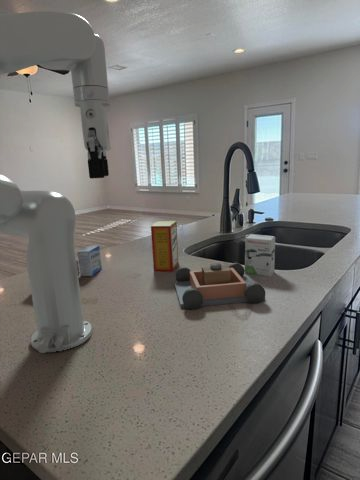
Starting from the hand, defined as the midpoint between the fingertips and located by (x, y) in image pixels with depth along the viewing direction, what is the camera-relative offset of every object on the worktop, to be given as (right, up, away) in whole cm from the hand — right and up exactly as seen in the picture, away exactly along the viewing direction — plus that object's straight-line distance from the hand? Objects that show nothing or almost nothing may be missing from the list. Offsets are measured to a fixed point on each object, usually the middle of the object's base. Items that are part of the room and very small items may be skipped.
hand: (99, 177), depth 78 cm
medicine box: (-12, -26, +38) cm, 47 cm away
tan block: (+29, -28, +15) cm, 43 cm away
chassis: (+29, -29, +15) cm, 44 cm away
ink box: (+44, -25, +30) cm, 59 cm away
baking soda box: (+14, -24, +39) cm, 48 cm away
